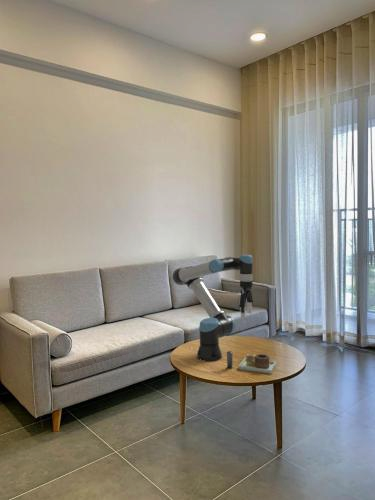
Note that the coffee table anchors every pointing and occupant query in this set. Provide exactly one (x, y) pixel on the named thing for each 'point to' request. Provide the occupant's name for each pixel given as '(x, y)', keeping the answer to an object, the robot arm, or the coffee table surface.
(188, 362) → the coffee table surface
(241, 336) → the coffee table surface
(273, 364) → the tray
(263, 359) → the brown octagonal handled piece
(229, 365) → the cylinder
